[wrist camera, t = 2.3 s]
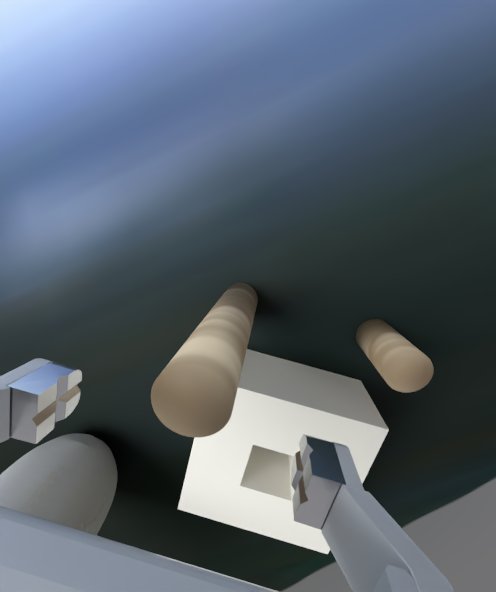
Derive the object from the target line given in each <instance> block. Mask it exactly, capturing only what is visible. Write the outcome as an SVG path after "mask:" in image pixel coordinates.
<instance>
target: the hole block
mask: <svg viewBox="0 0 496 592" xmlns="http://www.w3.org/2000/svg"><path fill="white" fill-rule="evenodd" d="M388 431H389V429H388V427H387V426H386V424H385V422H384V420H383V419H382V417H381V415H380V413H379V412H378V410H377V408H376V406H375V405H374V403H373V401H372V399H371V398H370V396H369V394H368V392H367V391H366V389H365V387H364V385H363V384H362V382H361V380H357V379H354V378H350V377H346V376H343V375H339V374H336V373H332V372H328V371H325V370H321V369H318V368H314V367H310V366H307V365H303V364H299V363H296V362H292V361H289V360H285V359H281V358H278V357H274V356H270V355H267V354H263V353H260V352H256V351H252V350H249V349H247V350H246V354H245V359H244V363H243V367H242V372H241V376H240V380H239V385H238V389H237V393H236V398H235V402H234V406H233V410H232V415H231V417H230V420H229V421H228V423H227V424H226V426H225V427H224V428H223V429H221V430H220V431H219V432H217V433H215V434H213V435H210V436H206V437H195V438H194V442H193V446H192V450H191V455H190V459H189V463H188V467H187V471H186V476H185V480H184V484H183V488H182V493H181V497H180V501H179V505H178V509H179V510H182V511H185V512H189V513H192V514H195V515H199V516H202V517H205V518H209V519H212V520H215V521H219V522H222V523H225V524H229V525H232V526H235V527H239V528H242V529H245V530H249V531H252V532H255V533H259V534H262V535H265V536H269V537H272V538H275V539H279V540H282V541H285V542H289V543H292V544H295V545H299V546H302V547H305V548H309V549H312V550H315V551H319V552H322V553H325V554H328V553H329V551H330V547H329V546H328V544H327V542H326V540H325V538H324V536H323V534H322V532H321V531H322V530H320V529H317V528H314V527H311V526H308V525H305V524H302V523H299V522H296V521H294V513H293V501H292V498H293V495H294V493H295V490H294V488H293V487H292V485H291V468H292V462H293V459H294V456H295V453H297V452H298V451H300V447H299V442H300V439H301V437H302V436H303V434H305V435H308V436H312V437H316V438H319V439H323V440H326V441H330V442H335V443H339V444H343V445H346V446H347V447H348V448H349V450H350V453H351V455H352V458H353V461H354V464H355V466H356V469H357V472H358V475H359V477H360V480H361V483H362V484H363V482H364V480H365V478H366V475H367V473H368V471H369V469H370V467H371V465H372V463H373V461H374V459H375V457H376V455H377V453H378V451H379V449H380V447H381V445H382V443H383V441H384V439H385V437H386V435H387V433H388Z"/></svg>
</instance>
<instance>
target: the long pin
mask: <svg viewBox="0 0 496 592" xmlns="http://www.w3.org/2000/svg"><path fill="white" fill-rule="evenodd" d="M257 302H258V297H257V294H256V292H255V290H254V289H253V288H252V287H251V286H250V285H248V284H245V283H236V284H233V285H231V286H230V287H229V288H228V289H227V290H226V292H225V293H224V294H223V295H222V297H221V298H220V299H219V300H218V302H217V303H216V304H215V305H214V307H213V308H212V309H211V310H210V312H209V313H208V314H207V316H206V317H205V318H204V319H203V321H202V322H201V323H200V324H199V326H198V327H197V328H196V329H195V331H194V332H193V333H192V334H191V336H190V337H189V338H188V339H187V341H186V342H185V343H184V345H183V346H182V347H181V348H180V350H179V351H178V352H177V353H176V355H175V356H174V357H173V358H172V360H171V361H170V362H169V363H168V365H167V366H166V367H165V369H164V370H163V371H162V372H161V374H160V375H159V376H158V377H157V379H156V380H155V382H154V384H153V386H152V390H151V403H152V407H153V410H154V412H155V414H156V415H157V417H158V418H159V419H160V421H161V422H162V423H163V424H164V425H165V426H167V427H168V428H169V429H171V430H172V431H174V432H176V433H178V434H181V435H184V436H188V437H206V436H210V435H213V434H215V433H217V432H219V431H220V430H221V429H223V428H224V427H225V426H226V424H227V423H228V421H229V420H230V417H231V415H232V410H233V406H234V402H235V398H236V393H237V389H238V385H239V380H240V376H241V372H242V367H243V363H244V359H245V354H246V350H247V346H248V341H249V337H250V333H251V328H252V324H253V320H254V316H255V311H256V307H257Z"/></svg>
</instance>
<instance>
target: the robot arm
mask: <svg viewBox="0 0 496 592" xmlns="http://www.w3.org/2000/svg"><path fill="white" fill-rule="evenodd" d="M81 381H82V372H81V371H80V370H78V369H75V368H72V367H68V366H65V365H62V364H59V363H56V362H52V361H48V360H45V359H42V358H37V359H34V360H32V361H30V362H28V363H26V364H24V365H22V366H20V367H18V368H16V369H14V370H12V371H10V372H8V373H6V374H4V375H2V376H0V443H1V442H3V441H5V440H8V439H9V437H11V438H15V439H19V440H23V441H26V442H30V443H34V444H37V443H38V442H39V441H40V440H41V439H42V438H43V437H45V436H46V435H47V434H48V433H49V432H50V431H52V430H53V429H54V426H55V422H57V421H60V420H63V419H65V418H66V417H67V416H68V415H70V414H71V413H72V411H73V410H74V408H75V407H76V406H77V404H78V401H79V398H80V390H79V388H78V386H77V384H78V383H79V382H81ZM299 447H300V451H298V452H297V453H295V456H294V459H293V462H292V468H291V485H292V487H293V488H294V490H295V493H294V495H293V498H292V501H293V513H294V521H296V522H299V523H302V524H305V525H308V526H311V527H314V528H317V529H320V530H322V531H321V532H322V534H323V536H324V538H325V540H326V542H327V544H328V546H329V547H330V549H331V551H332V553H333V555H334V557H335V559H336V561H337V563H338V564H339V566H340V568H341V570H342V572H343V574H344V576H345V577H346V580H347V581H348V583H349V585H350V587H351V589H352V591H353V592H454V590H453V588H452V586H451V584H450V583H449V581H448V580H447V579H446V578H445V576H444V575H443V574H442V573H441V572H440V571H439V570H438V569H437V567H436V566H435V565H434V564H433V563H432V562H431V561H430V560H429V559H428V557H427V556H426V555H425V554H424V553H423V552H422V551H421V550H420V549H419V547H418V546H417V545H416V544H415V543H414V542H413V541H412V540H411V538H410V537H409V536H408V535H407V534H406V533H405V532H404V531H403V529H402V528H401V527H400V526H399V525H398V524H397V523H396V522H395V521H394V519H393V518H392V517H391V516H390V515H389V514H388V513H387V512H386V510H385V509H384V508H383V507H382V506H381V505H380V504H379V503H378V502H377V500H376V499H375V498H374V497H373V496H372V495H371V494H370V493H369V492H367V491H364V488H363V485H362V483H361V480H360V477H359V475H358V472H357V469H356V466H355V464H354V461H353V458H352V455H351V453H350V450H349V448H348V447H347V446H346V445H343V444H339V443H335V442H330V441H326V440H323V439H319V438H316V437H312V436H308V435H305V434H303V436H302V437H301V439H300V442H299ZM0 592H278V591H275V590H272V589H269V588H266V587H262V586H259V585H256V584H253V583H249V582H246V581H243V580H239V579H236V578H233V577H230V576H226V575H223V574H220V573H217V572H213V571H210V570H207V569H204V568H200V567H197V566H194V565H190V564H187V563H184V562H181V561H177V560H174V559H171V558H168V557H164V556H161V555H158V554H154V553H151V552H148V551H145V550H142V549H138V548H135V547H132V546H129V545H125V544H122V543H119V542H116V541H113V540H109V539H106V538H103V537H100V536H96V535H93V534H90V533H87V532H83V531H80V530H77V529H74V528H71V527H67V526H64V525H61V524H58V523H54V522H51V521H48V520H45V519H42V518H38V517H35V516H32V515H29V514H25V513H22V512H19V511H16V510H12V509H9V508H6V507H3V506H0Z"/></svg>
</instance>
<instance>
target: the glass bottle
mask: <svg viewBox="0 0 496 592" xmlns="http://www.w3.org/2000/svg"><path fill="white" fill-rule="evenodd" d="M116 486H117V466H116V462H115V459H114V457H113V454H112V452H111V450H110V448H109V447H108V446H107V445H106V444H105V443H104V442H103V441H102V440H100V439H98V438H96V437H94V436H92V435H88V434H80V433H74V434H68V435H64V436H60V437H58V438H55V439H53V440H51V441H48V442H46V443H44V444H42V445H40V446H38V447H36V448H35V449H33V450H31V451H30V452H28V453H27V454H25V455H24V456H23V457H21V458H20V459H19V460H17V461H16V462H15V463H14V464H13V465H11V466H10V467H9V468H8V469H7V470H5V471H4V472H3V473H2V474H1V475H0V506H3V507H6V508H9V509H12V510H16V511H19V512H22V513H25V514H29V515H32V516H35V517H38V518H42V519H45V520H48V521H51V522H54V523H58V524H61V525H64V526H67V527H71V528H74V529H77V530H80V531H83V532H87V533H90V534H93V535H97V533H98V531H99V530H100V528H101V526H102V524H103V522H104V520H105V518H106V516H107V513H108V511H109V509H110V506H111V504H112V501H113V498H114V495H115V491H116Z"/></svg>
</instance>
